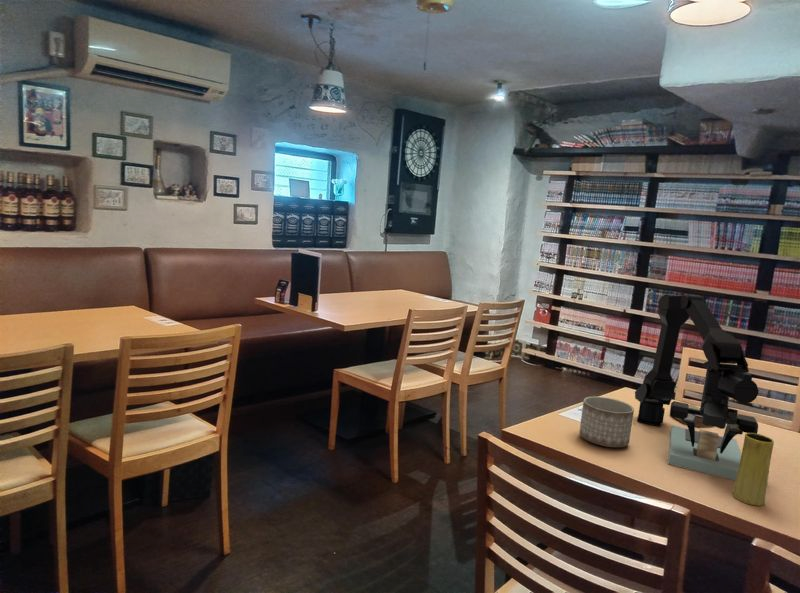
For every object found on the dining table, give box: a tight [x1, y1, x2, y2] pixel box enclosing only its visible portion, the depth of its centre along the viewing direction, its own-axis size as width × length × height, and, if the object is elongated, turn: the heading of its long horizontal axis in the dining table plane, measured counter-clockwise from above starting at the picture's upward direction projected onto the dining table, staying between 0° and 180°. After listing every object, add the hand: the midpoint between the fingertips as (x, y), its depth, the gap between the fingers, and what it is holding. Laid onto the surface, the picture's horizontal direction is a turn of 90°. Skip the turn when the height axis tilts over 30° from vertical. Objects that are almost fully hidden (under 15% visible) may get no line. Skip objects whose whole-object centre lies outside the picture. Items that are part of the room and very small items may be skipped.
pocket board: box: [668, 424, 742, 481], centre depth 141 cm, size 16×24×3 cm, turn 152°
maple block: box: [696, 429, 720, 461], centre depth 135 cm, size 4×4×8 cm
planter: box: [578, 395, 635, 448], centre depth 145 cm, size 13×13×10 cm
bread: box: [672, 404, 708, 428], centre depth 167 cm, size 11×11×5 cm
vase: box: [731, 433, 774, 507], centre depth 118 cm, size 6×6×14 cm
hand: (706, 449), depth 135 cm, fingers open, 6 cm apart
